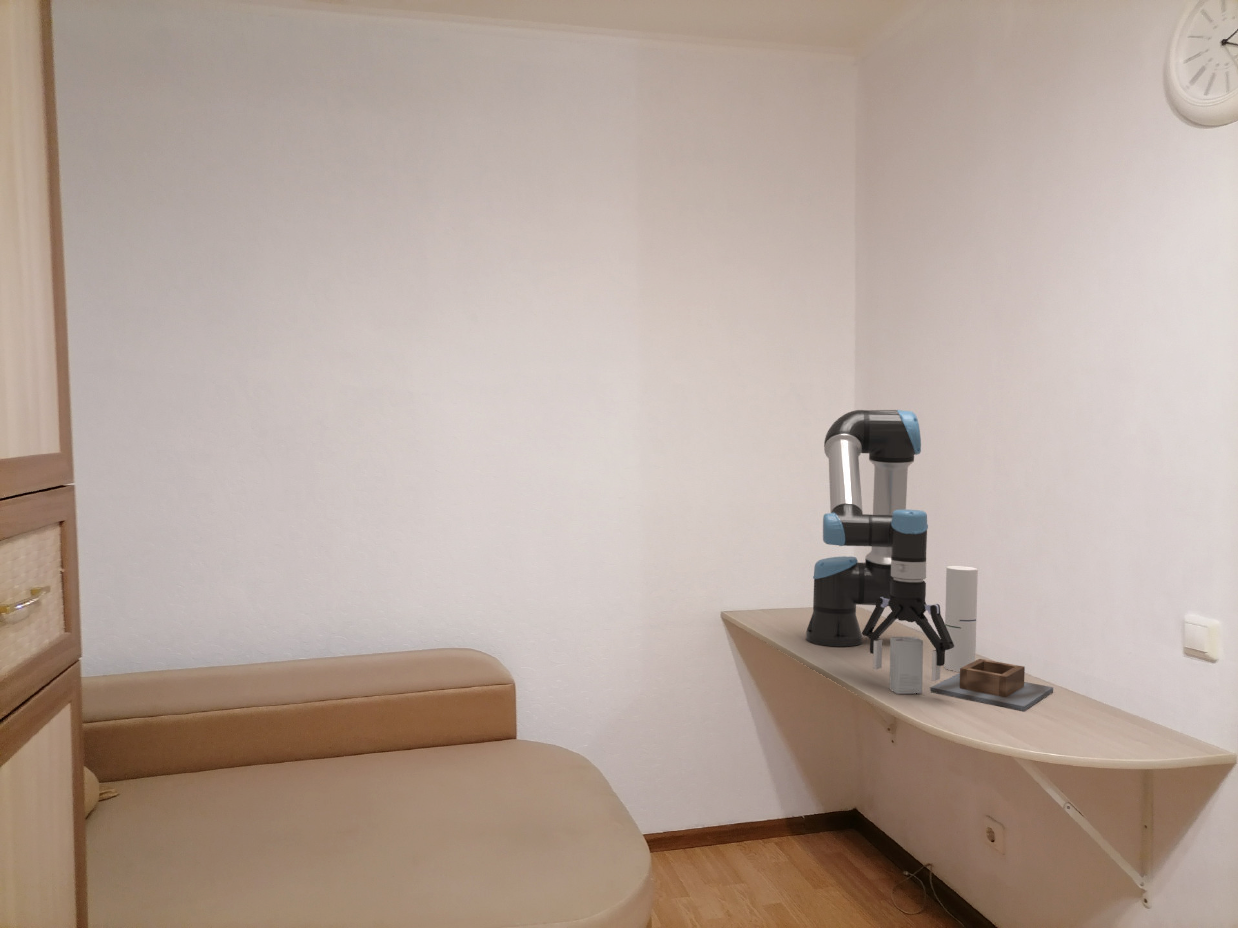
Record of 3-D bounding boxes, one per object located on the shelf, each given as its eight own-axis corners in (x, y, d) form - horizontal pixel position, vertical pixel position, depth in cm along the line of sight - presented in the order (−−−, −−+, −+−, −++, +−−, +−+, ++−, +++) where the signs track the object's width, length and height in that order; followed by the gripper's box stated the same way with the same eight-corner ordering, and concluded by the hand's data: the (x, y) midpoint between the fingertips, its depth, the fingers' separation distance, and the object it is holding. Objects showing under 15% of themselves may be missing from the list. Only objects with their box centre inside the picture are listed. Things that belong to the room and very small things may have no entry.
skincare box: (914, 688, 199) (915, 635, 199) (923, 694, 195) (924, 640, 195) (888, 689, 199) (889, 635, 198) (896, 694, 194) (897, 640, 194)
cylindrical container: (977, 673, 213) (980, 570, 213) (946, 671, 215) (949, 569, 214) (972, 665, 220) (974, 566, 220) (941, 664, 222) (944, 565, 221)
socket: (930, 691, 197) (930, 667, 197) (964, 674, 212) (964, 652, 212) (1024, 711, 184) (1024, 684, 184) (1053, 691, 199) (1053, 667, 198)
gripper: (848, 574, 202) (846, 666, 202) (957, 587, 185) (955, 688, 185) (863, 571, 207) (861, 661, 208) (971, 584, 191) (968, 681, 191)
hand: (905, 674), depth 197 cm, fingers open, 13 cm apart
